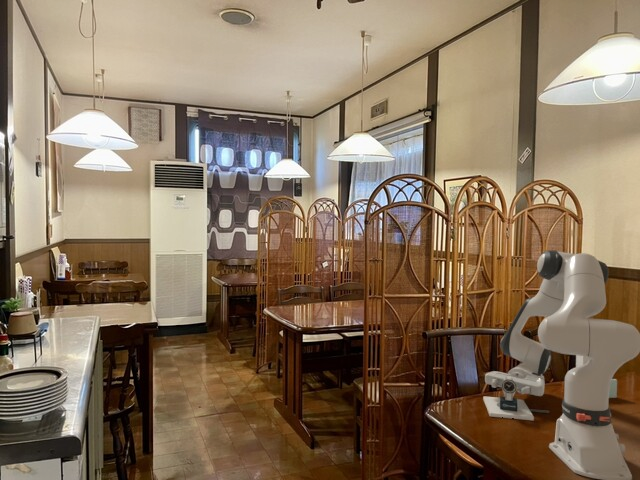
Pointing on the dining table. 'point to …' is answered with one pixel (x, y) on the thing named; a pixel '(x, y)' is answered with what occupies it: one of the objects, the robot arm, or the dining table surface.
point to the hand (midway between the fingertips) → (506, 388)
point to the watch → (508, 395)
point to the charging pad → (495, 410)
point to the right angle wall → (613, 389)
